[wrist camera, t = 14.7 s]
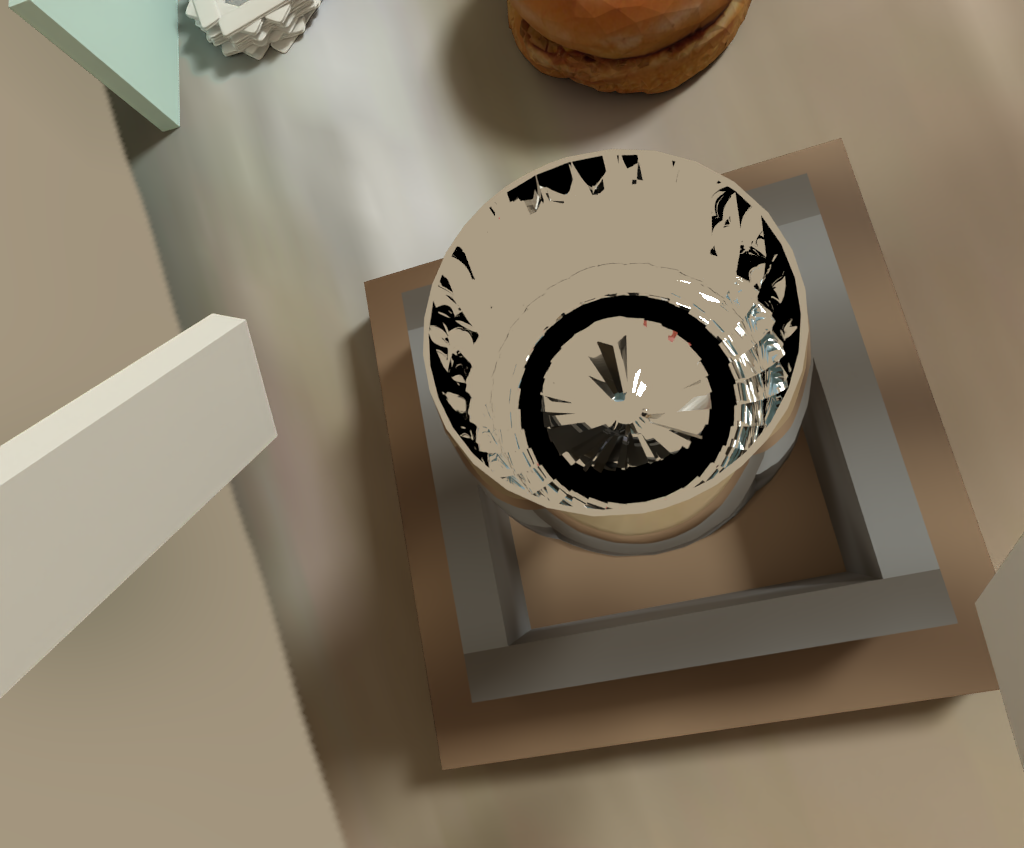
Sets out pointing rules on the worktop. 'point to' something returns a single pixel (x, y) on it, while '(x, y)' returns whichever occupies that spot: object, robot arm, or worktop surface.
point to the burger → (624, 39)
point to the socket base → (707, 540)
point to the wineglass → (621, 351)
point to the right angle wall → (158, 40)
